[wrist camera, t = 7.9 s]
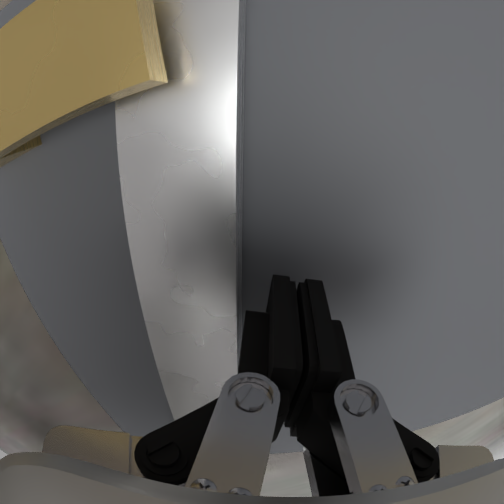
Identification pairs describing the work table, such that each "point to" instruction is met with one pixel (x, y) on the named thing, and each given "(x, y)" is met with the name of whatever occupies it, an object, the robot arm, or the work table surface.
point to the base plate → (307, 206)
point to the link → (189, 197)
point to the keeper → (72, 64)
